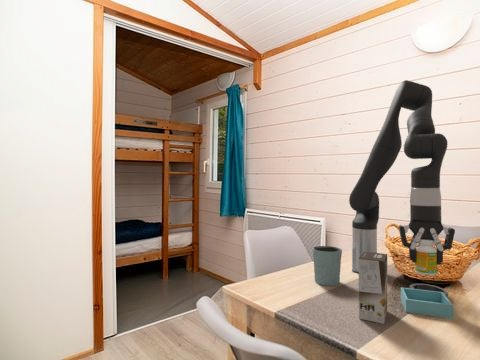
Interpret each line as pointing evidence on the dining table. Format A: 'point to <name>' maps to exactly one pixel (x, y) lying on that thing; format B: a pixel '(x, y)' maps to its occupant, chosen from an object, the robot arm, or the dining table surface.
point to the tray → (426, 302)
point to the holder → (428, 288)
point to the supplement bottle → (426, 257)
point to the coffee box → (373, 287)
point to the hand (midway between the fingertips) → (425, 262)
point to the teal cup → (327, 265)
